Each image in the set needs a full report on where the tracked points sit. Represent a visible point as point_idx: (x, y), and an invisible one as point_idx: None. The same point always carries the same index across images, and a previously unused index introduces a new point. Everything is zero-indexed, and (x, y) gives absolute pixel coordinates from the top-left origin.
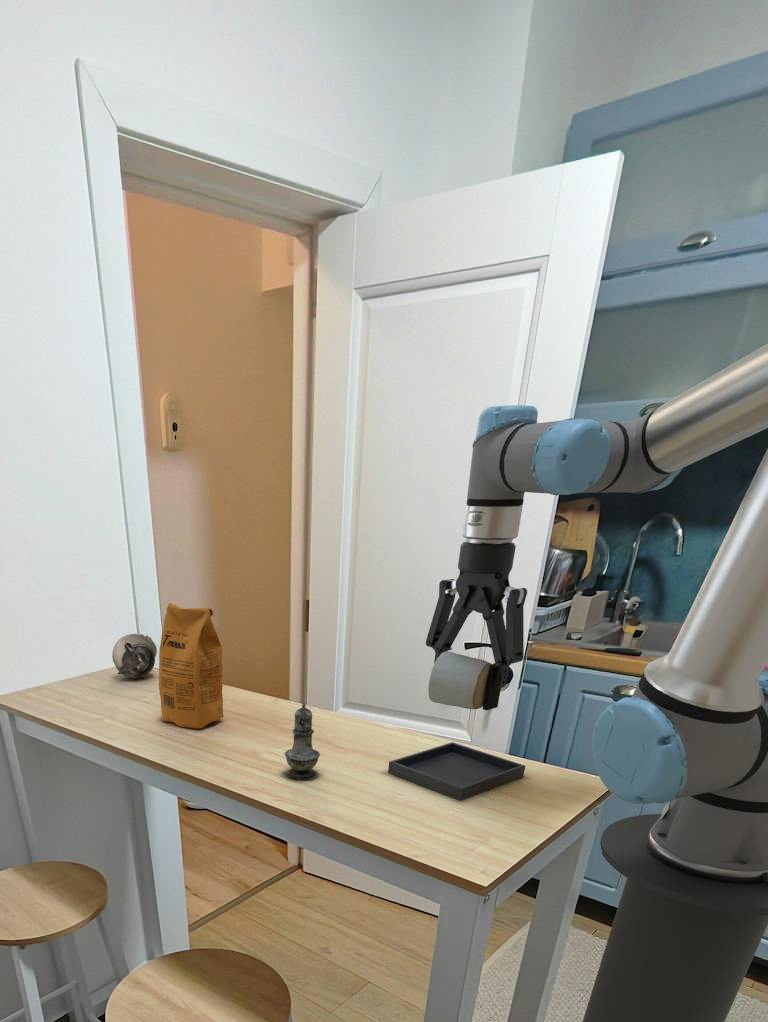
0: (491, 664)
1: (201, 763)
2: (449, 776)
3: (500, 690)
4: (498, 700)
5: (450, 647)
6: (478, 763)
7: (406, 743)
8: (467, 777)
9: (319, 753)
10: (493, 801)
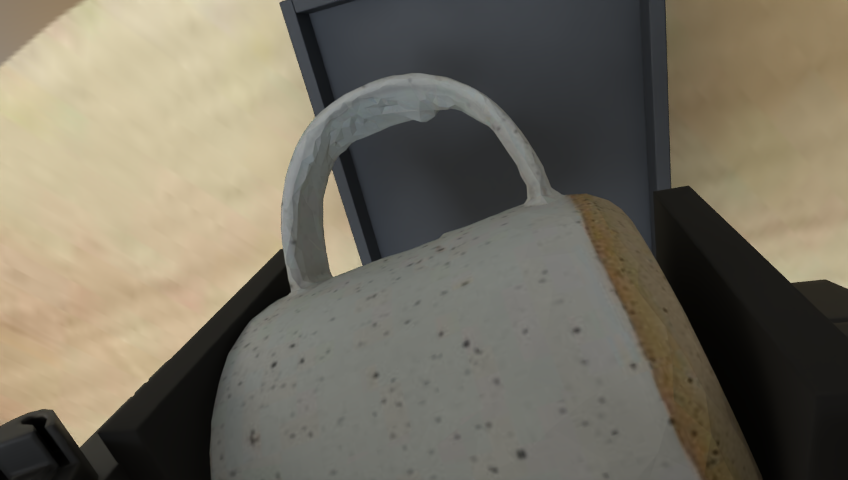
0: (731, 466)
1: None
2: (511, 187)
3: (739, 234)
4: (706, 205)
5: (36, 442)
6: (457, 2)
7: (168, 92)
8: (549, 141)
9: None
10: (733, 183)
